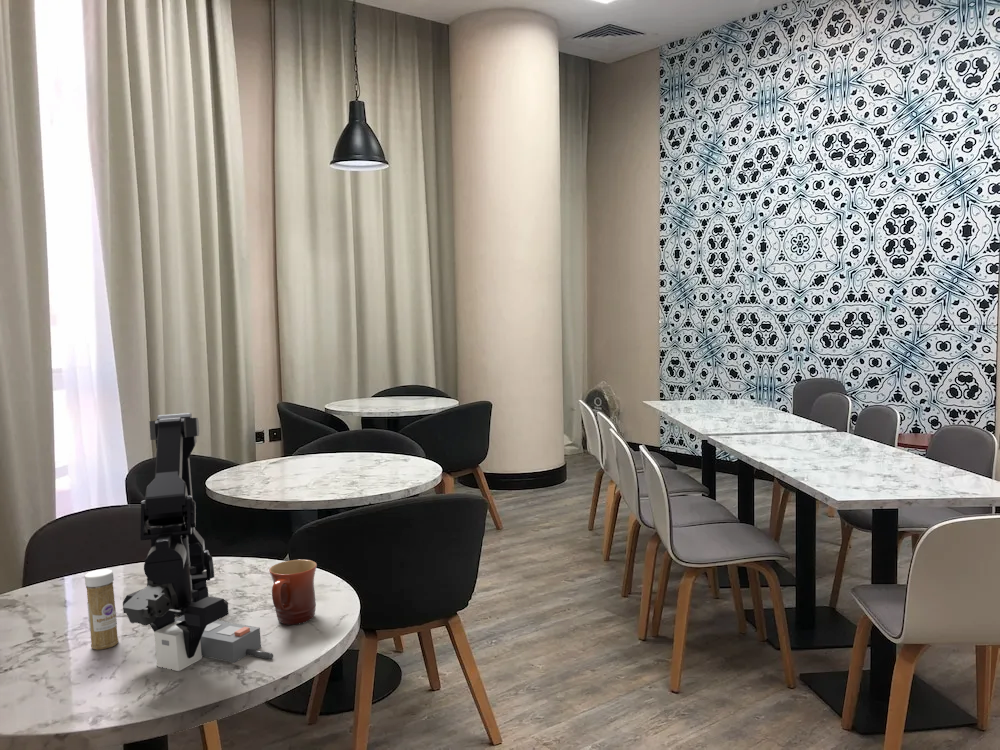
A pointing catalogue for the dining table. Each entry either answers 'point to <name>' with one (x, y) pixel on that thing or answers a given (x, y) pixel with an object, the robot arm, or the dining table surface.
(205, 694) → the dining table surface
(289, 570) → the mug
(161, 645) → the block
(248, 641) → the power strip
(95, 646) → the sprinkles bottle
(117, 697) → the dining table surface
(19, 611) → the dining table surface
